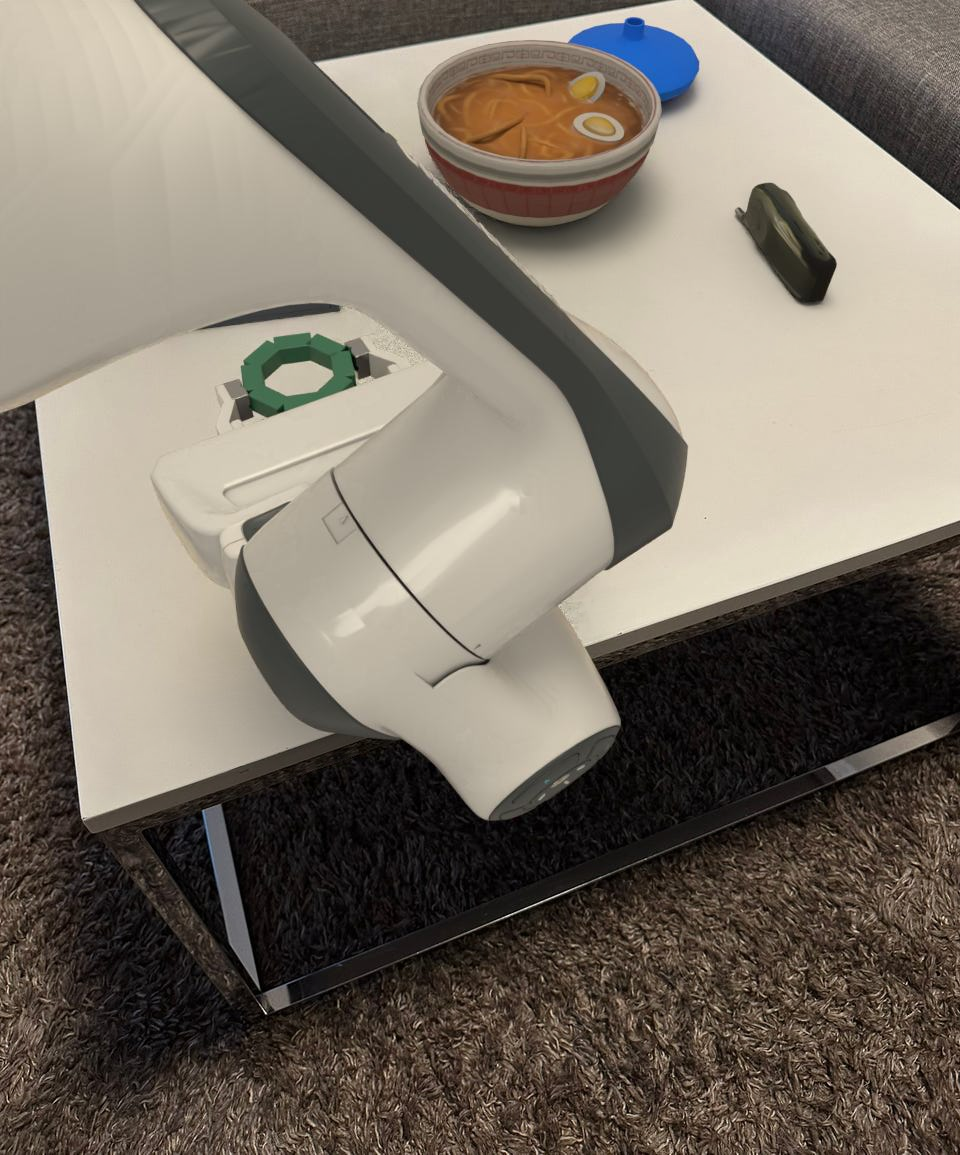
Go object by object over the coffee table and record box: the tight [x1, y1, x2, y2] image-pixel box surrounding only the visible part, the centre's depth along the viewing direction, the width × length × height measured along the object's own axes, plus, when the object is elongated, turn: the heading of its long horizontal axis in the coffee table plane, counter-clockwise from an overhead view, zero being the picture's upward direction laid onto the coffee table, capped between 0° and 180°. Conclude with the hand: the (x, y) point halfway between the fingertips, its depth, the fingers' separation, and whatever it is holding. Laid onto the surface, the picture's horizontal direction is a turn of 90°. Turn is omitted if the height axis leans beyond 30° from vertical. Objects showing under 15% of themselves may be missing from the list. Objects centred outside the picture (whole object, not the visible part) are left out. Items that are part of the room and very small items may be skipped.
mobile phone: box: [734, 182, 838, 304], centre depth 90 cm, size 5×3×15 cm
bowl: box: [416, 39, 663, 228], centre depth 93 cm, size 23×23×10 cm
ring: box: [240, 331, 358, 419], centre depth 56 cm, size 6×6×1 cm
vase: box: [567, 16, 700, 102], centre depth 108 cm, size 16×16×7 cm
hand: (292, 368), depth 56 cm, fingers closed on ring, 7 cm apart
